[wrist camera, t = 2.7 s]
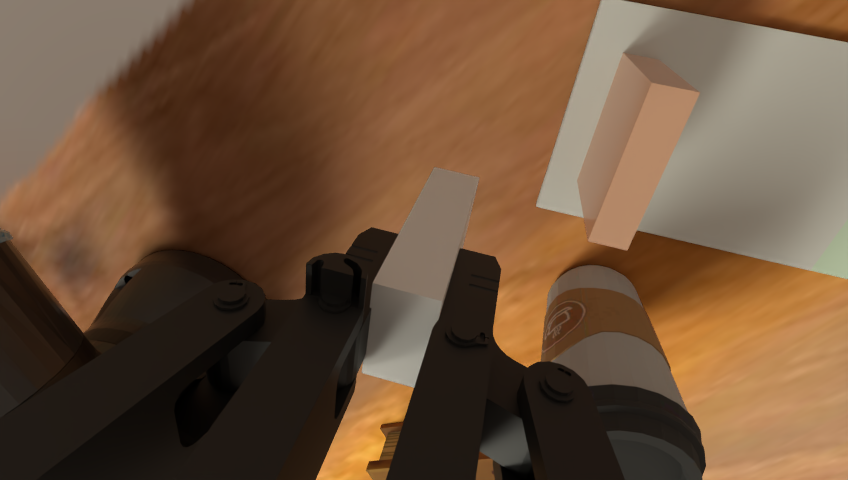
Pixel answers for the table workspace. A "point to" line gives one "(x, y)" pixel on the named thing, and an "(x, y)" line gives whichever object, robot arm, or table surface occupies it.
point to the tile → (631, 147)
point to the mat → (727, 134)
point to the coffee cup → (623, 373)
